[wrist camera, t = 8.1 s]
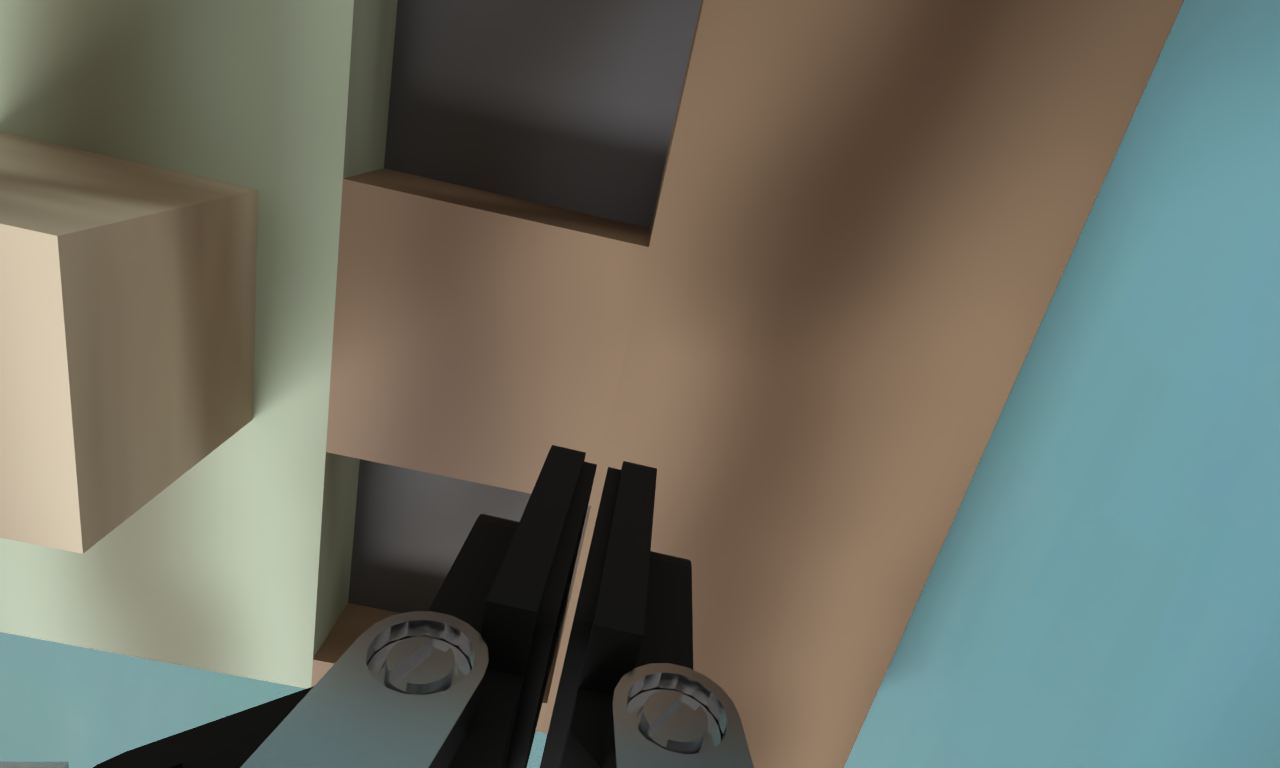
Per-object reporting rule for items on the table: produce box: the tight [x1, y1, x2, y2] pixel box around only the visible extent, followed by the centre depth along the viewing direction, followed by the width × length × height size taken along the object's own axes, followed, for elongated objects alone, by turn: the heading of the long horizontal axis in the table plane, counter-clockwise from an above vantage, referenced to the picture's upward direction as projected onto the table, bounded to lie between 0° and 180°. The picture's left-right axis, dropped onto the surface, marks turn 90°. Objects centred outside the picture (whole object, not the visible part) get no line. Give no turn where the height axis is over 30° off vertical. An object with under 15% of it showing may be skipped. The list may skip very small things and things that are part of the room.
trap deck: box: [0, 0, 1184, 768], centre depth 16 cm, size 22×20×2 cm
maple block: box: [0, 132, 258, 554], centre depth 12 cm, size 5×5×5 cm
